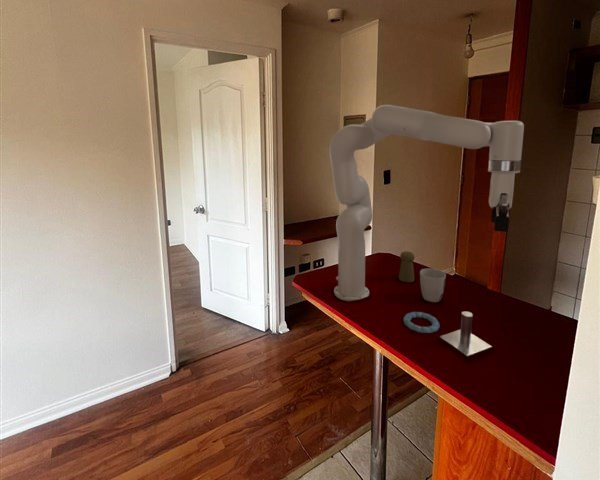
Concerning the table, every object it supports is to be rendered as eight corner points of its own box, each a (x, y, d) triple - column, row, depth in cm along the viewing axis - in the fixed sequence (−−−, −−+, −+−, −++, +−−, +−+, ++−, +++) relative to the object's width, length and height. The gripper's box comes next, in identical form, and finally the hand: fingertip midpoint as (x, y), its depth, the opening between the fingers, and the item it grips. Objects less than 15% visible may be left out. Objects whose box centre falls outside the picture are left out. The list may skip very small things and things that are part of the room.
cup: (446, 307, 107) (448, 279, 105) (420, 305, 108) (422, 277, 107) (441, 295, 114) (442, 269, 113) (417, 294, 116) (418, 267, 114)
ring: (396, 321, 100) (396, 315, 99) (421, 313, 103) (421, 307, 103) (420, 339, 90) (420, 332, 90) (446, 330, 94) (447, 324, 94)
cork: (395, 277, 130) (396, 250, 128) (408, 274, 132) (409, 249, 130) (404, 283, 125) (405, 256, 123) (417, 280, 126) (419, 254, 124)
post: (439, 340, 90) (441, 309, 88) (462, 332, 93) (464, 302, 92) (467, 360, 82) (469, 327, 80) (491, 350, 85) (494, 318, 84)
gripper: (486, 163, 99) (482, 218, 102) (490, 169, 83) (485, 233, 86) (515, 164, 95) (510, 220, 98) (525, 170, 80) (519, 236, 83)
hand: (499, 226), depth 92 cm, fingers open, 9 cm apart
